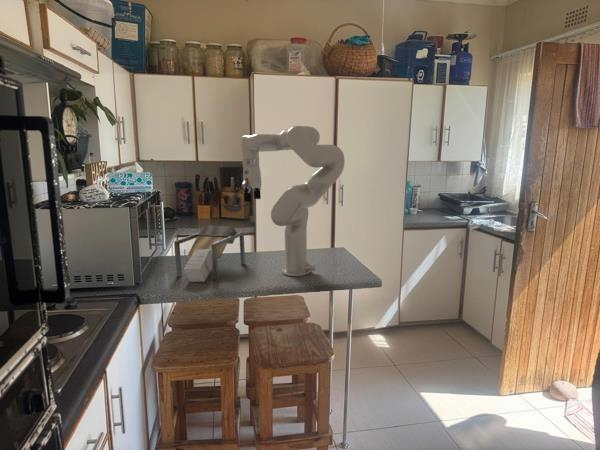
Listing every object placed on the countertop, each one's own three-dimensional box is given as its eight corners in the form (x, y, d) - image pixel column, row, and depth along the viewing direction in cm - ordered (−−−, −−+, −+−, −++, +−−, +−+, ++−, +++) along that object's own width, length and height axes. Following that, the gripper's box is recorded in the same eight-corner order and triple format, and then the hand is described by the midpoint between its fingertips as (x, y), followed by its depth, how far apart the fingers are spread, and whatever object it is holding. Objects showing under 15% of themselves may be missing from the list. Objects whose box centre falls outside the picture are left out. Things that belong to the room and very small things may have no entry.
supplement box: (215, 261, 172) (205, 282, 162) (199, 262, 173) (188, 282, 163) (210, 248, 167) (199, 268, 157) (194, 249, 169) (183, 269, 159)
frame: (245, 264, 187) (243, 231, 184) (216, 280, 164) (214, 244, 161) (209, 260, 194) (206, 229, 191) (177, 276, 171) (173, 241, 168)
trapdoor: (237, 233, 183) (233, 226, 179) (223, 263, 172) (219, 256, 169) (207, 231, 188) (203, 224, 184) (192, 260, 178) (187, 253, 174)
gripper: (249, 163, 170) (251, 202, 173) (266, 162, 186) (267, 198, 189) (234, 163, 173) (236, 202, 176) (252, 162, 189) (253, 197, 192)
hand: (252, 200), depth 183 cm, fingers open, 9 cm apart
